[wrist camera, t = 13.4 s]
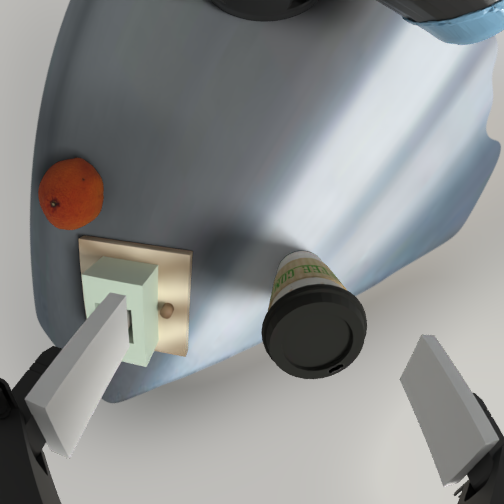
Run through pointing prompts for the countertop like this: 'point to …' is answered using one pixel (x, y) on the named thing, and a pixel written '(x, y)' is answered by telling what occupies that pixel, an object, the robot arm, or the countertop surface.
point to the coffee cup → (312, 319)
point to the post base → (169, 284)
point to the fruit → (71, 194)
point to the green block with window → (127, 300)
